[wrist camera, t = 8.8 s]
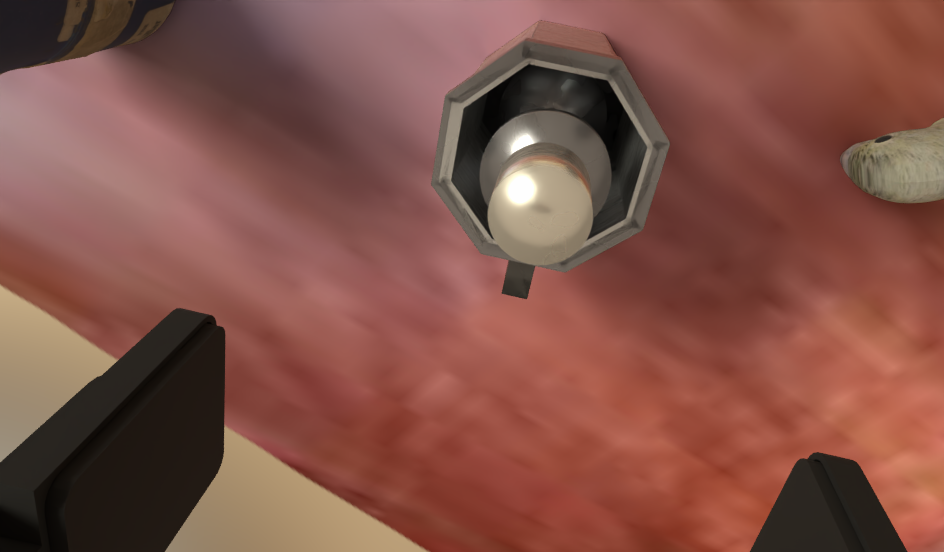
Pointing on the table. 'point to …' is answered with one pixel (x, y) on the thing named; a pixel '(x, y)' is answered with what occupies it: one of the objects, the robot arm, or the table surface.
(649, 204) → the press carafe
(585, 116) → the plunger
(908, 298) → the table surface
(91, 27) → the canister
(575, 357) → the table surface
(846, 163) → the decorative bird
